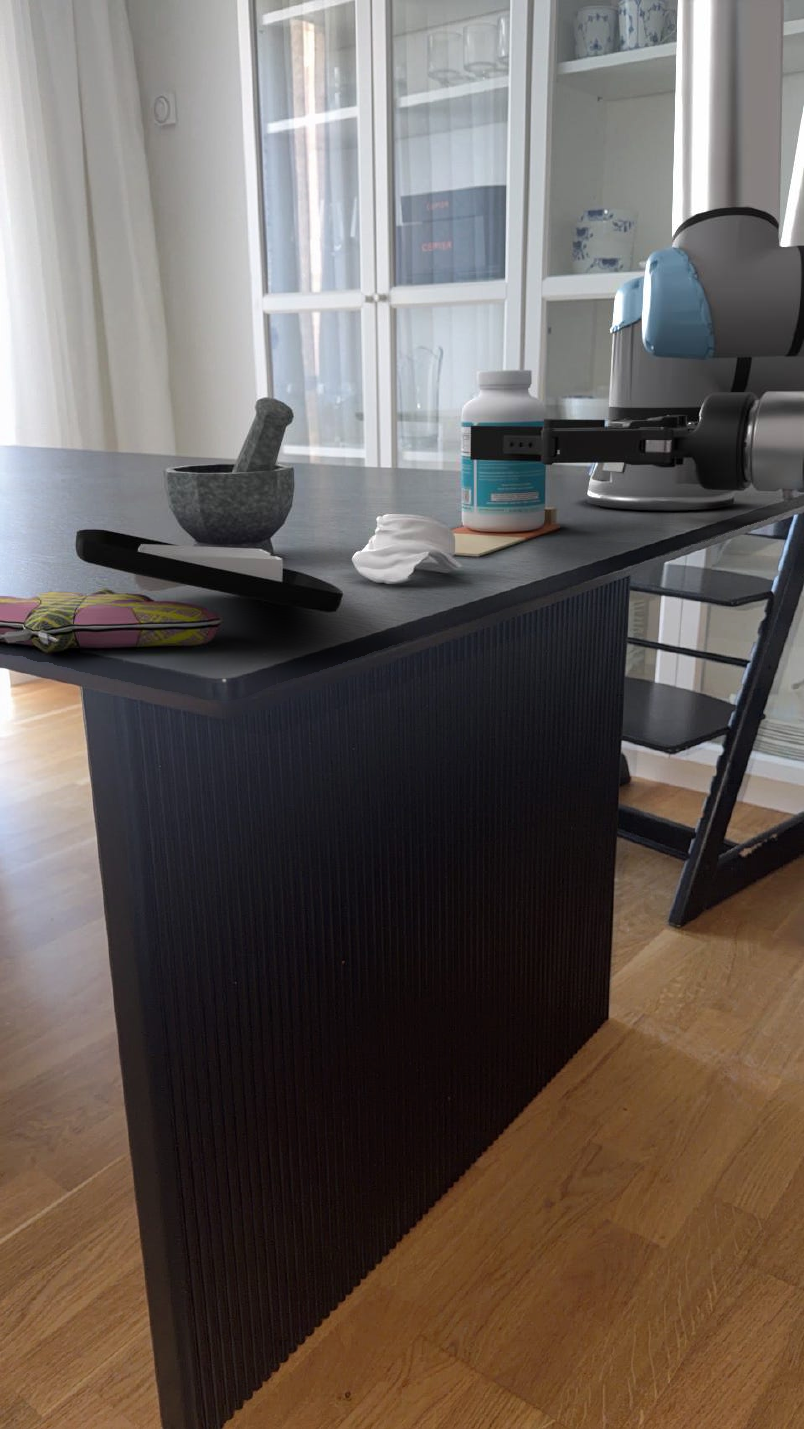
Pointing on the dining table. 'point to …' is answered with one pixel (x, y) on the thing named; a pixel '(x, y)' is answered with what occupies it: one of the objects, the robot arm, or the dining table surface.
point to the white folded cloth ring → (406, 549)
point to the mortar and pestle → (238, 488)
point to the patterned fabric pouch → (103, 621)
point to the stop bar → (550, 516)
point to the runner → (491, 539)
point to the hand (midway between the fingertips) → (505, 438)
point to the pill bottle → (502, 487)
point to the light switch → (206, 569)
